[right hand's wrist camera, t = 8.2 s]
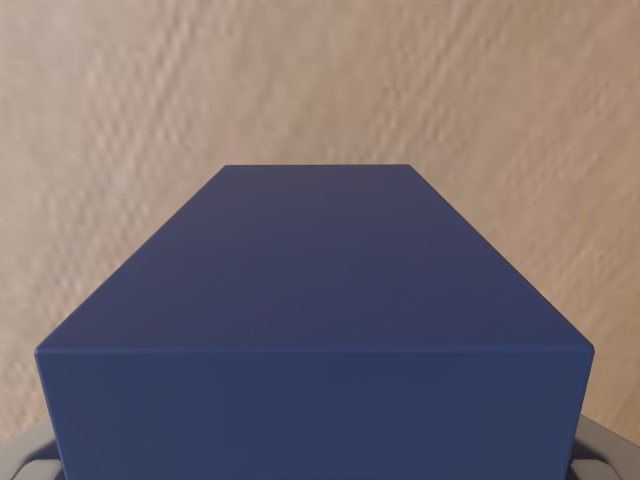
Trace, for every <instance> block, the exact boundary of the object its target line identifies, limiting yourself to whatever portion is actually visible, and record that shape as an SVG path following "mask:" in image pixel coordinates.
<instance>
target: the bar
mask: <svg viewBox="0 0 640 480" xmlns="http://www.w3.org/2000/svg"><path fill="white" fill-rule="evenodd" d="M594 353H595V351H594V347H593V345H592V344H591V343H590V342H589V341H588V340H587V339H586V338H585V337H584V336H583V335H582V334H581V333H580V332H579V331H578V330H577V329H576V328H575V327H574V326H573V325H572V324H571V323H570V322H569V321H568V320H567V319H566V318H565V317H564V316H563V315H562V314H561V313H560V312H559V311H558V310H557V309H556V308H555V307H554V306H553V305H552V304H551V303H550V302H549V301H548V300H547V299H546V298H545V297H543V296H542V295H541V294H540V293H539V292H538V291H537V290H536V289H535V288H534V287H533V286H532V285H531V284H530V283H529V282H528V281H527V280H526V279H525V278H524V277H523V276H522V275H521V274H520V273H519V272H518V271H517V270H516V269H515V268H514V267H513V266H512V265H511V264H510V263H509V262H508V261H507V260H506V259H505V258H504V257H503V256H502V255H501V254H500V253H499V252H498V251H497V250H496V249H495V248H494V247H493V246H492V245H491V244H490V243H489V242H488V241H487V240H486V239H485V238H484V237H482V236H481V235H480V234H479V233H478V232H477V231H476V230H475V229H474V228H473V227H472V226H471V225H470V224H469V223H468V222H467V221H466V220H465V219H464V218H463V217H462V216H461V215H460V214H459V213H458V212H457V211H456V210H455V209H454V208H453V207H452V206H451V205H450V204H449V203H448V202H447V201H446V200H445V199H444V198H443V197H442V196H441V195H440V194H439V193H438V192H437V191H436V190H435V189H434V188H433V187H432V186H431V185H430V184H429V183H428V182H427V181H426V180H425V179H424V178H423V177H421V176H420V175H419V174H418V173H417V172H416V171H415V170H414V169H413V168H412V167H411V166H410V165H225V166H224V167H223V168H222V169H221V170H220V171H219V172H218V173H217V174H216V175H215V176H214V177H212V178H211V179H210V180H209V181H208V182H207V183H206V184H205V185H204V186H203V187H202V188H201V189H200V190H199V191H198V192H197V193H196V194H195V195H194V196H193V197H192V198H191V199H190V200H189V201H188V202H187V203H186V204H184V205H183V206H182V207H181V208H180V209H179V210H178V211H177V212H176V213H175V214H174V215H173V216H172V217H171V218H170V219H169V220H168V221H167V222H166V223H165V224H164V225H163V226H162V227H161V228H160V229H159V230H158V231H156V232H155V233H154V234H153V235H152V236H151V237H150V238H149V239H148V240H147V241H146V242H145V243H144V244H143V245H142V246H141V247H140V248H139V249H138V250H137V251H136V252H135V253H134V254H133V255H132V256H131V257H129V258H128V259H127V260H126V261H125V262H124V263H123V264H122V265H121V266H120V267H119V268H118V269H117V270H116V271H115V272H114V273H113V274H112V275H111V276H110V277H109V278H108V279H107V280H106V281H105V282H104V283H103V284H101V285H100V286H99V287H98V288H97V289H96V290H95V291H94V292H93V293H92V294H91V295H90V296H89V297H88V298H87V299H86V300H85V301H84V302H83V303H82V304H81V305H80V306H79V307H78V308H77V309H76V310H75V311H73V312H72V313H71V314H70V315H69V316H68V317H67V318H66V319H65V320H64V321H63V322H62V323H61V324H60V325H59V326H58V327H57V328H56V329H55V330H54V331H53V332H52V333H51V334H50V335H49V336H48V337H46V338H45V339H44V340H43V341H42V342H41V343H40V344H39V345H38V346H37V347H36V349H35V353H34V356H35V360H36V364H37V368H38V371H39V375H40V379H41V383H42V387H43V391H44V395H45V399H46V403H47V407H48V411H49V415H50V419H51V423H52V427H53V431H54V435H55V438H56V442H57V446H58V450H59V454H60V458H61V462H62V466H63V470H64V474H65V478H66V480H565V476H566V472H567V468H568V463H569V459H570V455H571V451H572V446H573V442H574V438H575V434H576V430H577V425H578V421H579V417H580V413H581V408H582V404H583V400H584V396H585V391H586V387H587V383H588V379H589V375H590V370H591V366H592V362H593V358H594Z"/></svg>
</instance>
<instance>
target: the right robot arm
mask: <svg viewBox="0 0 640 480" xmlns="http://www.w3.org/2000/svg"><path fill="white" fill-rule="evenodd" d="M0 480H66V478H65V474H64V470H63V466H62V462H61V458H60V454H59V450H58V446H57V442H56V438H55V435H54V431H53V427H52V423H51V419H50V416H49V417H47V418H45V419H44V420H42V421H40V422H38V423H36V424H35V425H33V426H31V427H29V428H27V429H25V430H24V431H22V432H20V433H18V434H16V435H15V436H13V437H11V438H9V439H7V440H6V441H4V442H2V443H0ZM565 480H640V447H639V446H637V445H635V444H634V443H632V442H630V441H628V440H627V439H625V438H623V437H621V436H619V435H618V434H616V433H614V432H612V431H610V430H609V429H607V428H605V427H603V426H602V425H600V424H598V423H596V422H594V421H593V420H591V419H589V418H587V417H585V416H584V415H582V414H580V417H579V421H578V425H577V430H576V434H575V438H574V442H573V446H572V451H571V455H570V459H569V463H568V468H567V472H566V476H565Z"/></svg>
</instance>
